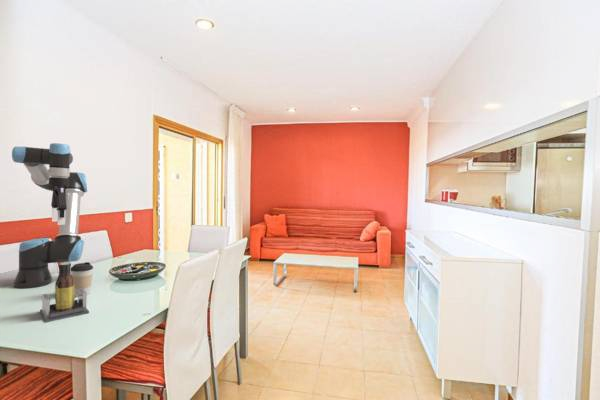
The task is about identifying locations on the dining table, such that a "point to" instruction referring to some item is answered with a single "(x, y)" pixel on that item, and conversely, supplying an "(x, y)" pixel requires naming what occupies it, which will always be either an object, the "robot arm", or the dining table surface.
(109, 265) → the dining table surface
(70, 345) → the dining table surface
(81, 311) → the clip holder
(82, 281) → the coffee cup
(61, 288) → the sauce bottle
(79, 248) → the robot arm
